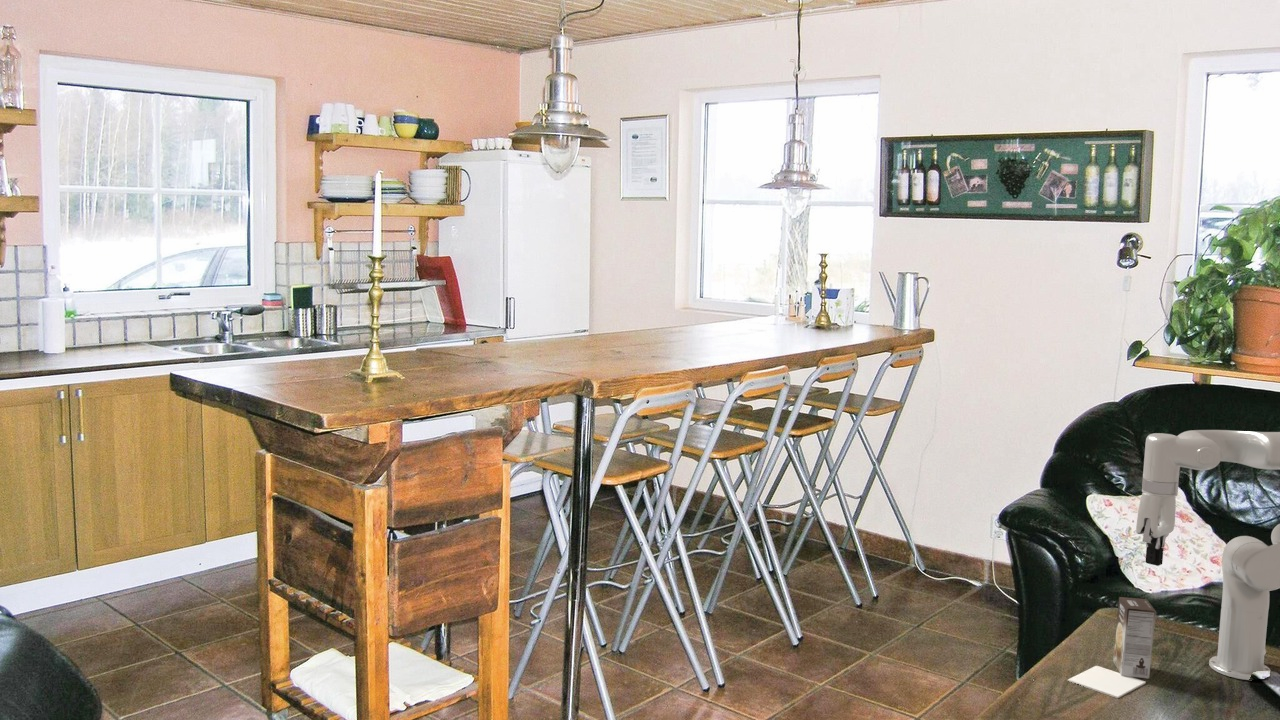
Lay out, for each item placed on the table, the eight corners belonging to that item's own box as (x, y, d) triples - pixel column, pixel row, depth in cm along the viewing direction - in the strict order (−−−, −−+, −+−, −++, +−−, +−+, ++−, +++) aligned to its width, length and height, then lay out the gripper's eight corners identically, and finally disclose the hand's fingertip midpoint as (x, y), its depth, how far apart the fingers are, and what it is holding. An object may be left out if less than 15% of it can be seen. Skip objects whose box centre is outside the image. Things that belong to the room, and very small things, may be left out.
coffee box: (1111, 662, 258) (1118, 595, 256) (1140, 665, 257) (1147, 598, 255) (1120, 676, 249) (1127, 607, 247) (1150, 679, 248) (1157, 610, 246)
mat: (1096, 667, 255) (1096, 665, 255) (1145, 683, 246) (1145, 681, 246) (1067, 681, 247) (1067, 679, 247) (1117, 698, 238) (1117, 696, 238)
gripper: (1158, 479, 260) (1152, 554, 263) (1128, 488, 251) (1122, 565, 253) (1190, 485, 255) (1184, 562, 257) (1161, 494, 245) (1155, 573, 247)
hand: (1153, 563), depth 255 cm, fingers closed
